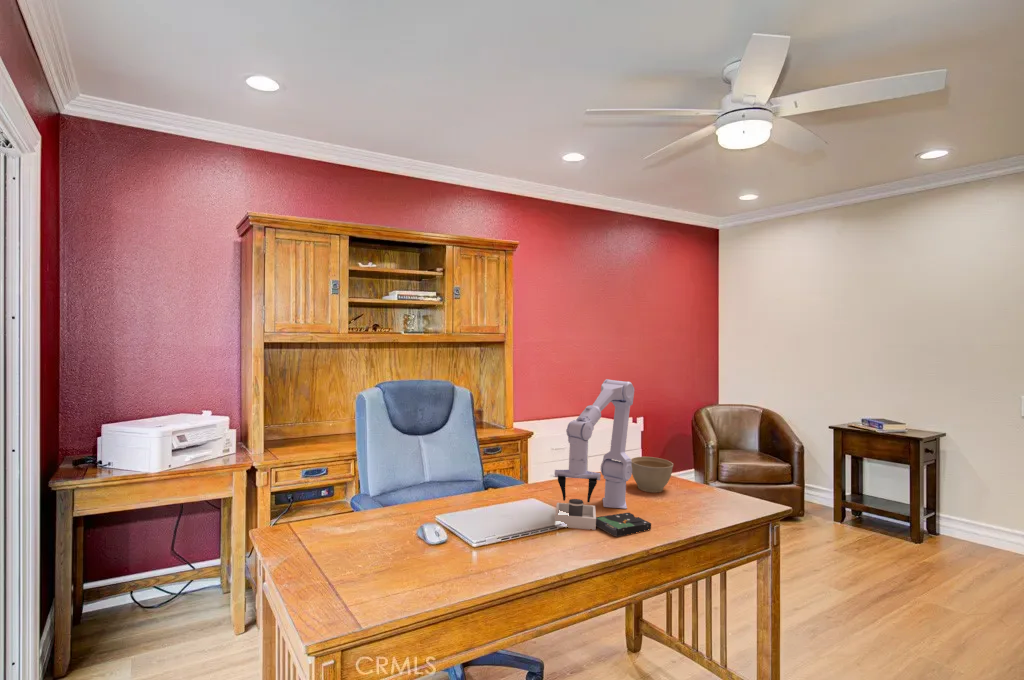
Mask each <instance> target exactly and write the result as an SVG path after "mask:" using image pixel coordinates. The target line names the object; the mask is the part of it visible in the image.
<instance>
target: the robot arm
mask: <svg viewBox="0 0 1024 680" xmlns="http://www.w3.org/2000/svg"><path fill="white" fill-rule="evenodd" d="M600 386H601V387H600V393H599V394H598V395H597V398H596V399H595V400H594V402H593V404H591V405H587V406H586V407H585V408H584V410H582V412H581V413H580V414H579V415H578V417H577V418H576V419H574V420H572V421H570V422H569V423H568V424H567V428H566V435H567V438H568V439H567V442H568V443H569V451H568V452H569V453H568V454H569V455H568V456H569V457H568V469H554V476H553V477H554V478H557V482H558V485H559V487H560V489H561V494H562V500H563V501H564V502H565V501H566V496H567V495H566V494H567V493H566V481H567V478H568V479H569V478H571V479H585V480H586V479H587V480H588V489H587V503H590V501H591V497H592V495H593V492H594V489H595V488H596V486H597V483H598V481H601V475H602V476H603V479H605V483H604V497H602V504H603V505H602V506H603V507H604V508H610V509H623V510H624V509H626V510H627V509H628V506H627V501H626V495H627V494H626V493H627V492H626V491H627V482H628V481H629V480H630V479H631V477H632V476H633V475H632V465H631V463H632V460H631V459H632V458H631V457H630V456H629V455H628V454H627V453H626V448H627V438H628V427H629V419H630V410H631V407H632V406H633V403H634V396H635V387H634V385H633V383H632V382H631V381H622V380H614V379H608V378H606V379H605V380H603V382H602V384H601V385H600ZM610 403H611V404H612V405H613V406H614V414H613V424H612V432H611V439H610V441H611V442H610V450H609V452H606V453H605V454H604V455H603V458H602V462H601V465H600V472H595V471H589V470H587V469H588V447H589V445H588V444H589V440H590V439H591V437H592V436H593V435H592V434H593V431H594V429H595V425H596V424H597V423H598V422H599V420H601V417H602V411H603V410H604V409H605V408H607V406H608V405H609V404H610Z"/></svg>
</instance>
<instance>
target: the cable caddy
mask: <svg viewBox="0 0 1024 680" xmlns="http://www.w3.org/2000/svg"><path fill="white" fill-rule="evenodd" d="M559 510H560V511H563V512H566V513H569V502H568V503H567V502H566V503H565V502H556V505H555V512H554V513H555V514H554V522H555V521H561V522H564V523H565V524H567V526H568V528H569V529H579V530H590V529H592V530H593V531H596V527H597V526H596V517H597V513H596V505H593V504H592V505H590V504H583V515H582V517H580V516H568V515H558V513H559ZM592 530H591V531H592Z"/></svg>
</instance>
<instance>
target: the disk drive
mask: <svg viewBox="0 0 1024 680" xmlns="http://www.w3.org/2000/svg"><path fill="white" fill-rule="evenodd" d="M596 527H597V528H598V529H601V530H603V531H605V532H606V533H608V534H610V535H612V536H614V537H621V536H622V537H623V536H628V535H627V534H629V535H632V534H631V533H634V534H637V533H636V532H639V531H643V532H645V531H644V530H648V529H652V523H651V522H650V521H647V520H645V519H643V518H641V517H639V516H638V517H637V516H635V515H634V514H633V513H631V512H624V513H616V514H609V515H602V516H601V515H600V516H596ZM648 531H649V530H648ZM639 533H640V532H639Z"/></svg>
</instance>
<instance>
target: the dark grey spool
mask: <svg viewBox="0 0 1024 680" xmlns="http://www.w3.org/2000/svg"><path fill="white" fill-rule="evenodd" d="M568 500H569V501H568V503H569V516H580V517H582V515H583V505H584V501H583V500H582V499H580V498H570V499H568Z"/></svg>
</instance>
